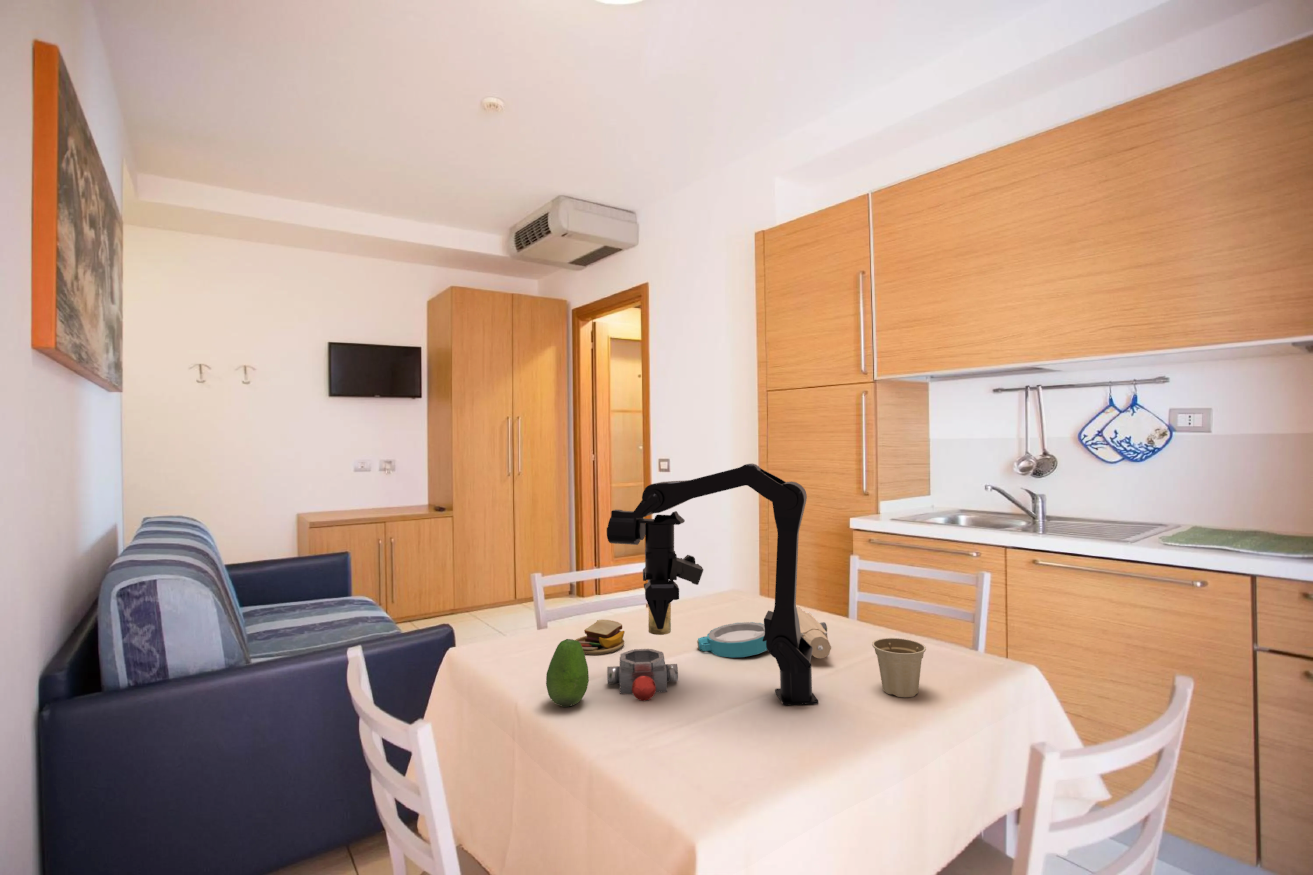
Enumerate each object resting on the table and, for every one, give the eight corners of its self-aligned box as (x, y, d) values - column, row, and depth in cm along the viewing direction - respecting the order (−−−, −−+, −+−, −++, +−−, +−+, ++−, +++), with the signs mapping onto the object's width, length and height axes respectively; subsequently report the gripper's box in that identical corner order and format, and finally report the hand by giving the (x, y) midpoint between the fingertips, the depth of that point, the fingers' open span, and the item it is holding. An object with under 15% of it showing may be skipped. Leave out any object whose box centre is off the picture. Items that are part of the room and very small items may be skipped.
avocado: (593, 709, 111) (591, 642, 111) (549, 716, 109) (547, 647, 109) (585, 693, 118) (584, 630, 119) (544, 698, 116) (542, 634, 116)
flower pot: (862, 686, 118) (861, 641, 119) (900, 678, 122) (898, 634, 122) (899, 705, 110) (898, 656, 110) (938, 695, 113) (937, 648, 114)
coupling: (671, 634, 120) (671, 606, 120) (648, 634, 120) (649, 606, 120) (669, 627, 124) (670, 600, 124) (648, 628, 124) (648, 600, 124)
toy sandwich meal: (560, 649, 145) (559, 629, 145) (600, 635, 155) (600, 616, 156) (598, 660, 137) (597, 639, 137) (638, 644, 148) (637, 624, 148)
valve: (681, 698, 115) (680, 669, 115) (606, 702, 114) (606, 672, 114) (675, 673, 127) (674, 647, 127) (608, 676, 126) (607, 649, 126)
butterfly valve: (702, 683, 129) (845, 665, 128) (698, 650, 129) (841, 632, 129) (697, 642, 156) (815, 627, 155) (693, 615, 156) (811, 600, 155)
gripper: (706, 554, 113) (706, 639, 113) (694, 538, 132) (694, 611, 132) (645, 554, 113) (645, 640, 112) (642, 538, 131) (642, 612, 131)
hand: (659, 625), depth 122 cm, fingers closed on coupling, 4 cm apart
